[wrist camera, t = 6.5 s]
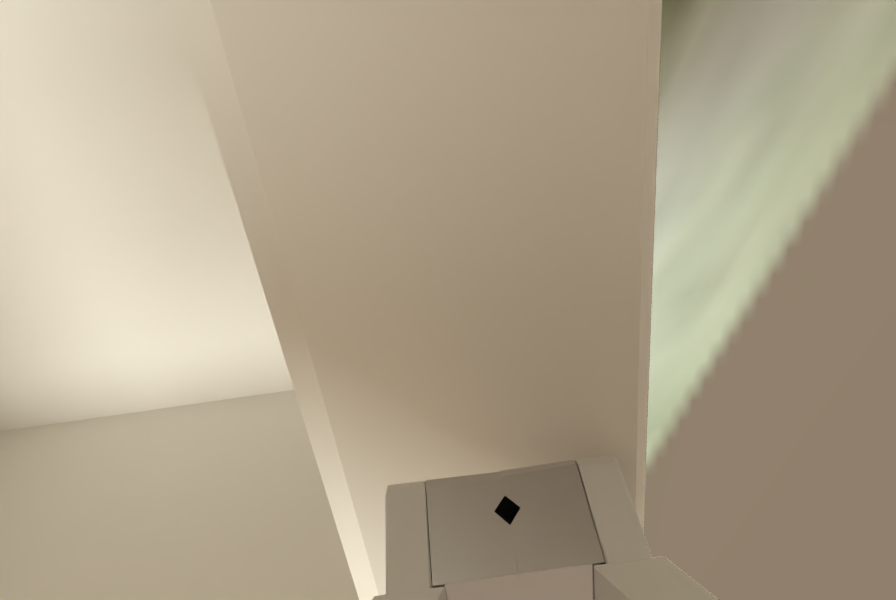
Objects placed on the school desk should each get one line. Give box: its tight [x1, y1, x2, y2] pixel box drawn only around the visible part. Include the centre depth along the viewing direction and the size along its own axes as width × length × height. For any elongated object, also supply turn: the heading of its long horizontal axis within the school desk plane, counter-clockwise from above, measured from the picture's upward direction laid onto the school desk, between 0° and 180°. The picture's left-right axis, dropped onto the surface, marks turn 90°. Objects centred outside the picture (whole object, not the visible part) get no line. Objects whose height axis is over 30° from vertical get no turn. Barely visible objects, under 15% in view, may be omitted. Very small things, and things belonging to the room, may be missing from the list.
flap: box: [210, 0, 662, 595], centre depth 12 cm, size 15×1×6 cm
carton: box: [0, 0, 379, 600], centre depth 17 cm, size 17×14×9 cm
